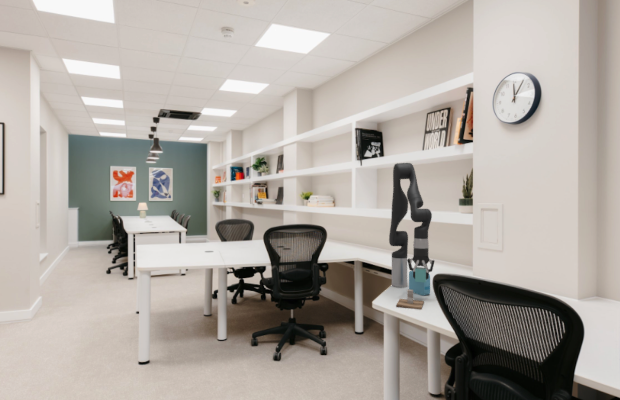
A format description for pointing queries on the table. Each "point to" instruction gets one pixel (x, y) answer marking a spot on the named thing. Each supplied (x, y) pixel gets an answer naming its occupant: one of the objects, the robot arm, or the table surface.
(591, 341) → the table surface
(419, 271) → the teal rectangular block
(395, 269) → the robot arm
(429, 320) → the table surface
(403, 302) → the post board
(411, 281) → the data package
